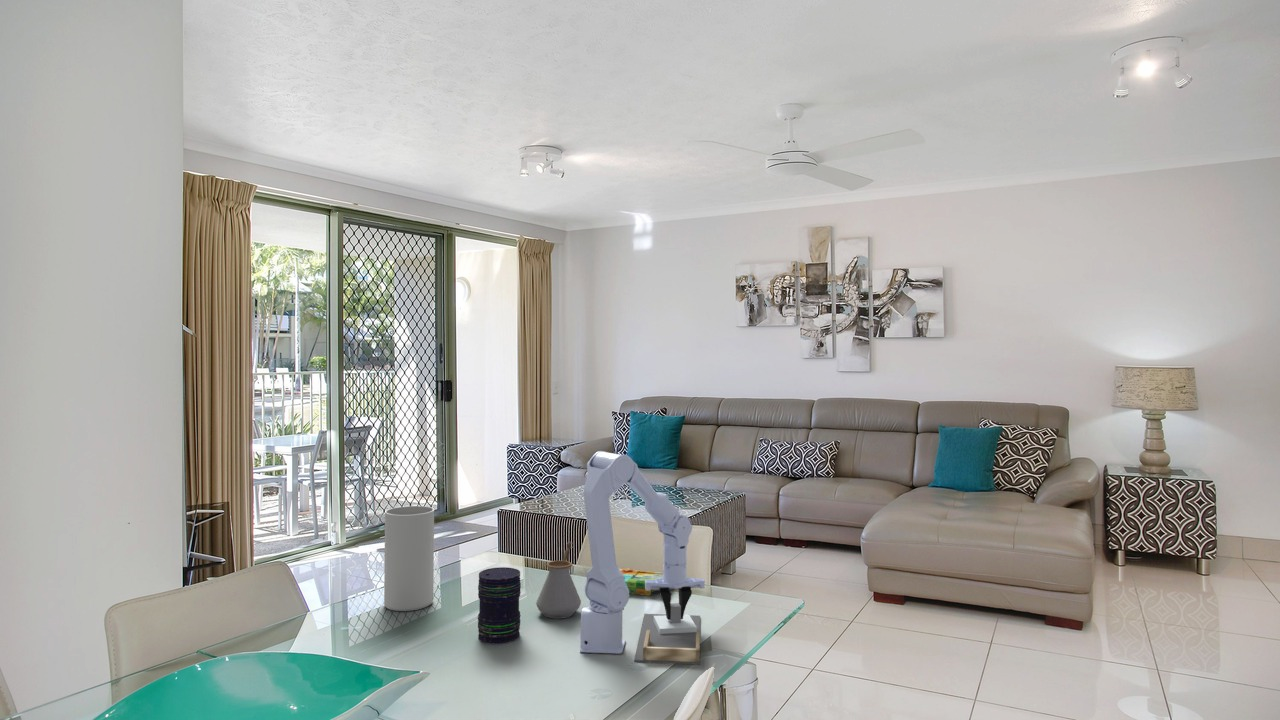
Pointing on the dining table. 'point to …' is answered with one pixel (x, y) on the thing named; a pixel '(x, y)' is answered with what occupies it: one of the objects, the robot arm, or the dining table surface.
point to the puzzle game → (639, 580)
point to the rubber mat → (665, 639)
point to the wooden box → (671, 651)
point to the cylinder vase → (409, 558)
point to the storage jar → (499, 605)
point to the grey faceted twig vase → (559, 590)
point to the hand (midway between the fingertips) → (674, 618)
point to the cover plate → (675, 622)
